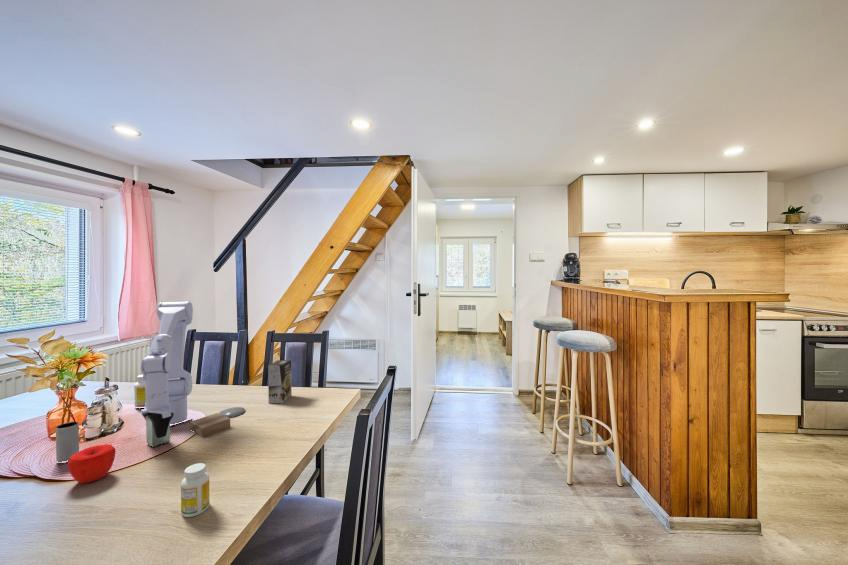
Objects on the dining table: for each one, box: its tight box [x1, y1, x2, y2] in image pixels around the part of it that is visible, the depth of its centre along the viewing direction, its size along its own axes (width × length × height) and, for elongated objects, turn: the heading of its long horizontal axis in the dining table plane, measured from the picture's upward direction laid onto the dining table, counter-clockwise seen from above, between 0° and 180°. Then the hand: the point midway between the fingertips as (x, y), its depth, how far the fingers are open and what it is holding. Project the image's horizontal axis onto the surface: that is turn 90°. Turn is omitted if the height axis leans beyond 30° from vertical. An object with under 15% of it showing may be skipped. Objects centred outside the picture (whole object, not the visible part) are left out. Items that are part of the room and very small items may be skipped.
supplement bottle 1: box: [133, 374, 146, 408], centre depth 138 cm, size 7×7×13 cm
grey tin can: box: [55, 421, 80, 462], centre depth 97 cm, size 4×4×10 cm
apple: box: [67, 443, 116, 484], centre depth 88 cm, size 9×9×8 cm
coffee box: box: [267, 359, 293, 404], centre depth 144 cm, size 9×6×16 cm
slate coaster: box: [218, 406, 246, 419], centre depth 130 cm, size 9×9×1 cm
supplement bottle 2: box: [180, 462, 210, 518], centre depth 76 cm, size 5×5×10 cm
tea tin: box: [145, 413, 171, 448], centre depth 107 cm, size 5×5×9 cm
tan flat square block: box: [189, 412, 231, 438], centre depth 117 cm, size 9×9×3 cm
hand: (158, 434), depth 107 cm, fingers closed on tea tin, 5 cm apart
